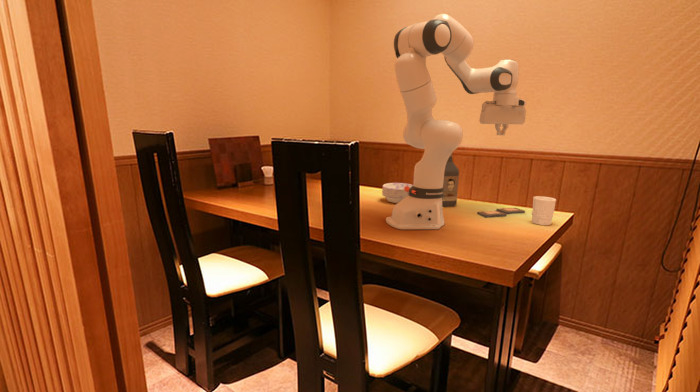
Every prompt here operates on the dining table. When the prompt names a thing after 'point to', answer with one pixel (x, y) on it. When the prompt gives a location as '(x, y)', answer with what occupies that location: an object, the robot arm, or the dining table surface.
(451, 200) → the liquor
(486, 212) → the tile left
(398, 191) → the paper bowls
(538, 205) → the white cup
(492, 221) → the dining table surface
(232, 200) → the dining table surface
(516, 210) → the tile right
